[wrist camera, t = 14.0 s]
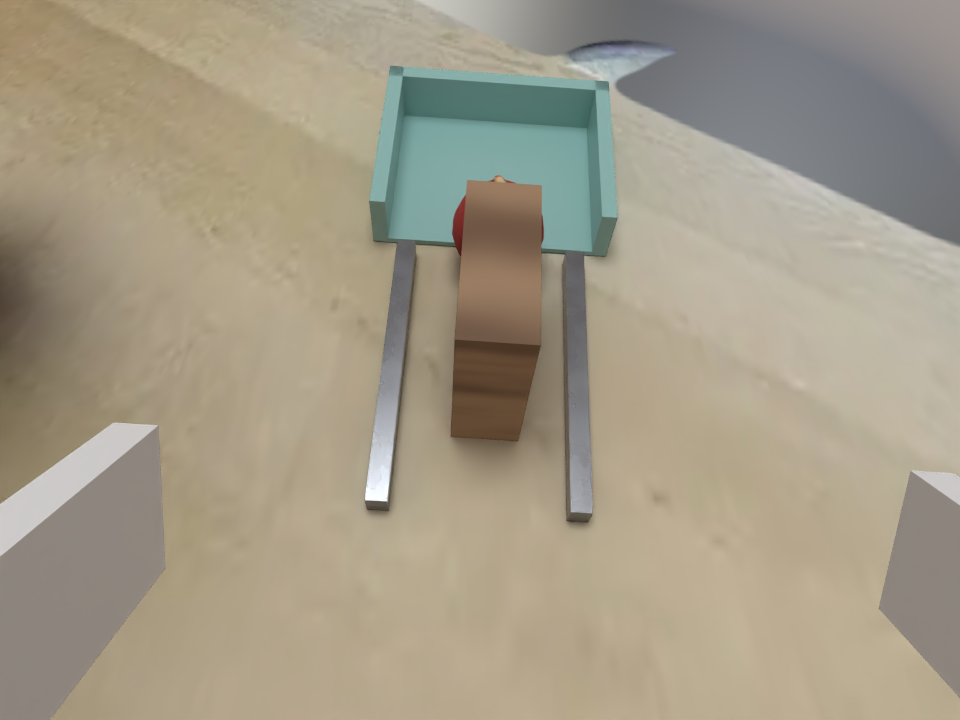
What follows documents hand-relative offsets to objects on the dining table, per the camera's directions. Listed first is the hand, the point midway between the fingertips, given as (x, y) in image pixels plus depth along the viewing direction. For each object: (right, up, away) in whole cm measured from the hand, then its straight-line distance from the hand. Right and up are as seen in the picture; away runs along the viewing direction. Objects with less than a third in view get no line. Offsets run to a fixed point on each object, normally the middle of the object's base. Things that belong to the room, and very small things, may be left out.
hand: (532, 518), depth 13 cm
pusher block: (0, +2, +34) cm, 34 cm away
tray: (0, +16, +41) cm, 44 cm away
